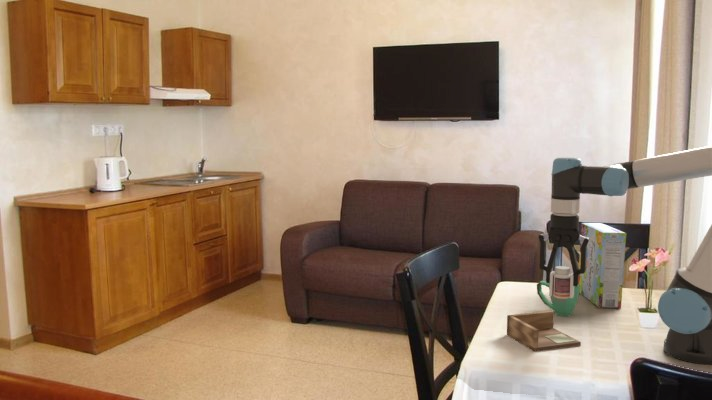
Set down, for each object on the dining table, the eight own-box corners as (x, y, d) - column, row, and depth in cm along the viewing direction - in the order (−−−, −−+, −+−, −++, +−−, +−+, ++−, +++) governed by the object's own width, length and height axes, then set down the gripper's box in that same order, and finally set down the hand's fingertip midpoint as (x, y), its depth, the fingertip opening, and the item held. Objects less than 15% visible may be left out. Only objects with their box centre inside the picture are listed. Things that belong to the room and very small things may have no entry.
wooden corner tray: (580, 345, 179) (581, 324, 178) (534, 351, 174) (534, 330, 173) (550, 329, 192) (551, 310, 191) (506, 335, 187) (507, 315, 186)
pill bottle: (573, 298, 178) (575, 269, 177) (558, 299, 177) (559, 270, 176) (564, 293, 182) (566, 265, 181) (549, 294, 181) (550, 266, 180)
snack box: (624, 308, 212) (628, 232, 209) (597, 308, 213) (601, 232, 209) (599, 291, 234) (603, 221, 231) (576, 291, 234) (579, 221, 231)
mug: (585, 314, 207) (586, 284, 205) (570, 320, 200) (571, 289, 199) (544, 304, 217) (545, 276, 216) (528, 310, 211) (529, 281, 209)
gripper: (600, 214, 176) (596, 296, 179) (534, 209, 184) (532, 288, 187) (597, 217, 169) (593, 303, 172) (529, 213, 177) (526, 295, 180)
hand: (561, 295), depth 180 cm, fingers closed on pill bottle, 5 cm apart
